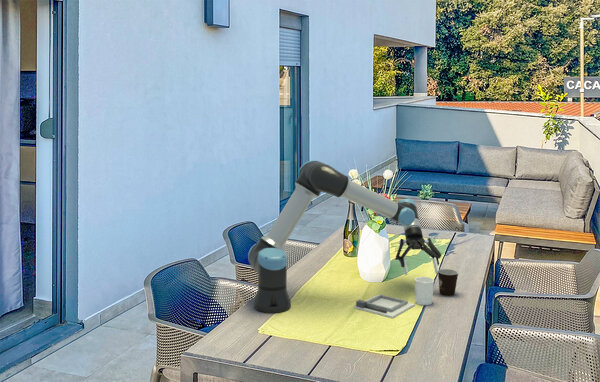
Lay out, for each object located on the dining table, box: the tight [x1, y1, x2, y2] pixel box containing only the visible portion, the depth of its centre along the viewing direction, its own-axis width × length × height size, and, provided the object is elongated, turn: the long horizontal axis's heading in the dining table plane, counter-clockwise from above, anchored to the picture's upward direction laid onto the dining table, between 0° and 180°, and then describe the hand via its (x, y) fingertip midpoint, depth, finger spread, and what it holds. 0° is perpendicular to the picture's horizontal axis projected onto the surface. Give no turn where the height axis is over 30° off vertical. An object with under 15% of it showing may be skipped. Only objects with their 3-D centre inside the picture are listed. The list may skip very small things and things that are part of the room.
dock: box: [353, 294, 416, 319], centre depth 258 cm, size 18×18×3 cm
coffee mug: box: [437, 268, 459, 297], centre depth 276 cm, size 12×9×10 cm
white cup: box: [414, 276, 435, 306], centre depth 263 cm, size 8×8×10 cm
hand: (421, 272), depth 268 cm, fingers open, 13 cm apart
